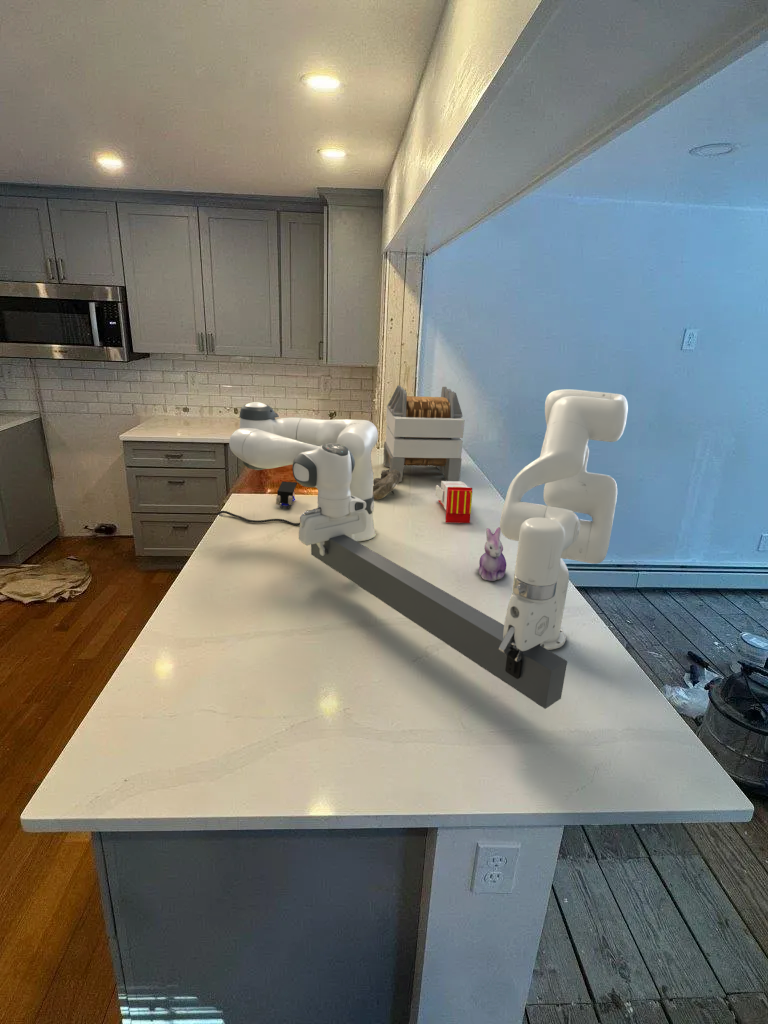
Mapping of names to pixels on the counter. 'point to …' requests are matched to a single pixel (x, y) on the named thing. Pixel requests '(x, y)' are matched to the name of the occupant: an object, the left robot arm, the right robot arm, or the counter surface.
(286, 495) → the figurine character
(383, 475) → the fossil
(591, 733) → the counter surface
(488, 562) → the figurine
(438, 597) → the bar
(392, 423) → the grey slatted crate stand
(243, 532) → the counter surface
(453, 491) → the toy
